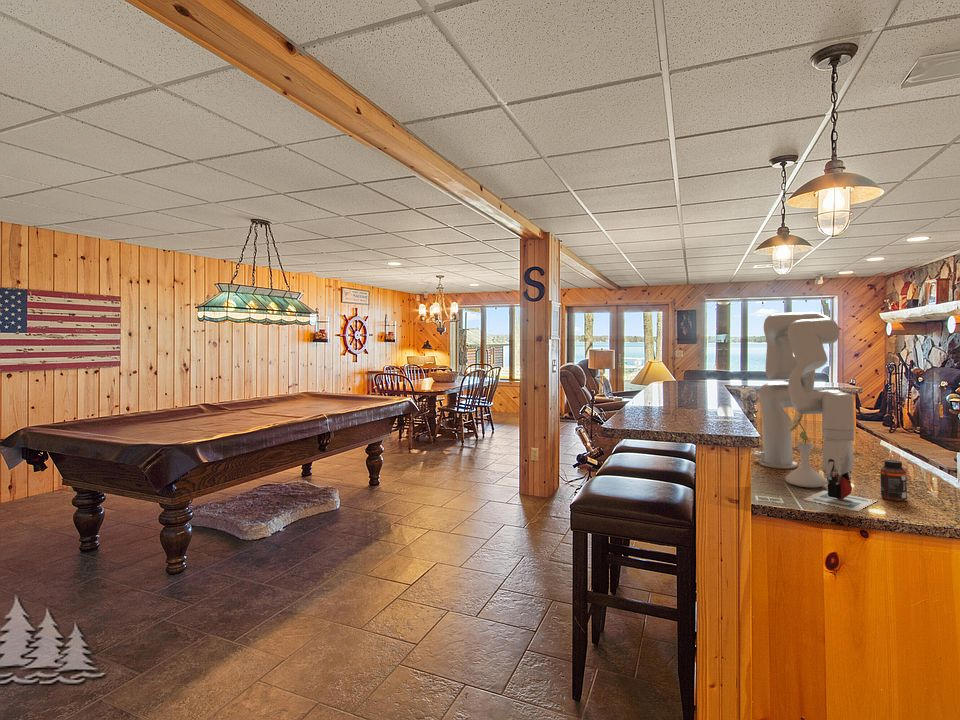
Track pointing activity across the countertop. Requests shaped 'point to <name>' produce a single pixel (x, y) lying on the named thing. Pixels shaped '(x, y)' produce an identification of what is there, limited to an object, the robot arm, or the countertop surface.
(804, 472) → the flower in vase
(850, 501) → the letter board
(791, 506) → the countertop surface
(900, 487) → the supplement bottle
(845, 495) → the onion
